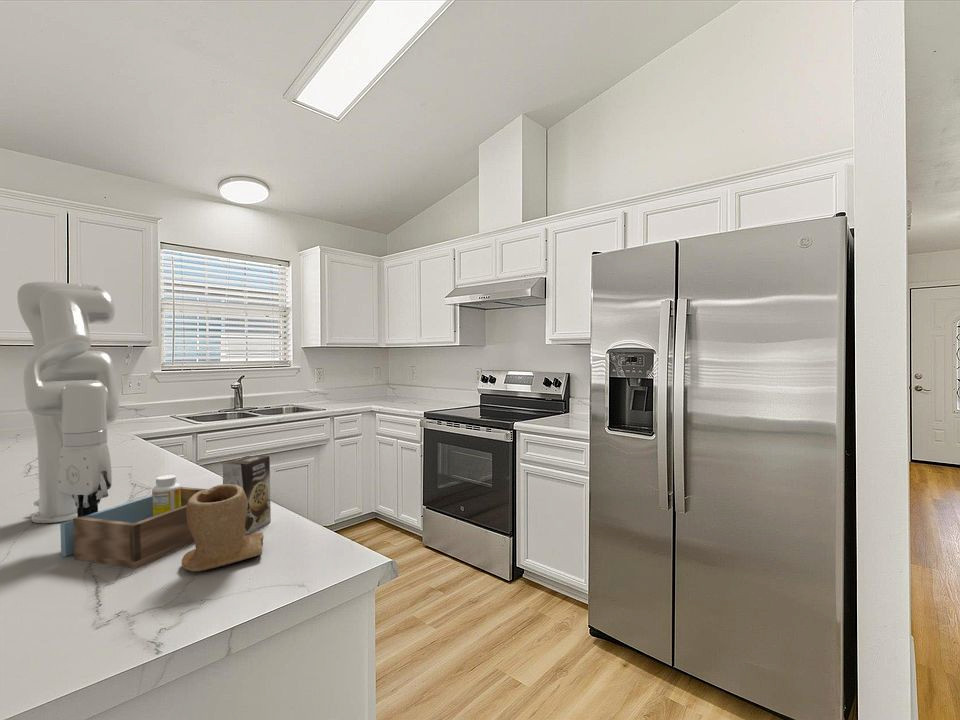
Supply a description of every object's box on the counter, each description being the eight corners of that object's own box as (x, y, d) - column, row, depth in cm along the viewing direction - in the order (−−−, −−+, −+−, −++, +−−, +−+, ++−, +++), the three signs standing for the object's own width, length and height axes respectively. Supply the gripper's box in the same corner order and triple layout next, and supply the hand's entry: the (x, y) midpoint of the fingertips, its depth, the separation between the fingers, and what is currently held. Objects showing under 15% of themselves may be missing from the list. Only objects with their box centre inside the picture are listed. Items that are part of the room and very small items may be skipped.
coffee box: (247, 535, 113) (246, 464, 112) (222, 533, 114) (220, 462, 113) (272, 521, 121) (270, 455, 121) (248, 520, 123) (247, 454, 122)
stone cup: (185, 584, 89) (183, 500, 89) (179, 561, 99) (177, 486, 99) (275, 562, 98) (273, 486, 98) (261, 543, 108) (260, 474, 107)
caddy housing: (74, 559, 101) (73, 518, 100) (177, 519, 124) (176, 486, 123) (135, 568, 96) (134, 525, 96) (230, 525, 119) (229, 491, 119)
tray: (61, 555, 102) (60, 523, 102) (166, 517, 125) (165, 490, 125) (120, 564, 97) (119, 530, 97) (218, 522, 120) (217, 495, 120)
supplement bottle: (176, 515, 120) (175, 472, 120) (185, 520, 117) (184, 476, 116) (149, 521, 116) (148, 477, 116) (157, 526, 112) (156, 481, 112)
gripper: (41, 441, 107) (44, 526, 107) (93, 444, 103) (95, 533, 103) (78, 435, 114) (81, 515, 115) (128, 437, 110) (130, 521, 110)
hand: (88, 523), depth 109 cm, fingers closed
